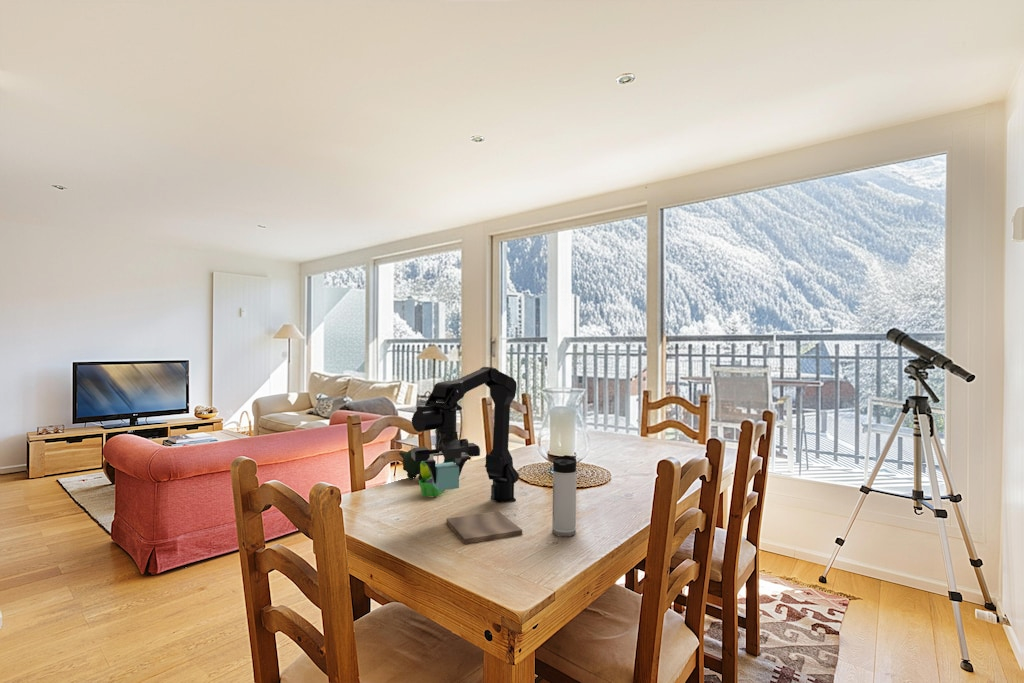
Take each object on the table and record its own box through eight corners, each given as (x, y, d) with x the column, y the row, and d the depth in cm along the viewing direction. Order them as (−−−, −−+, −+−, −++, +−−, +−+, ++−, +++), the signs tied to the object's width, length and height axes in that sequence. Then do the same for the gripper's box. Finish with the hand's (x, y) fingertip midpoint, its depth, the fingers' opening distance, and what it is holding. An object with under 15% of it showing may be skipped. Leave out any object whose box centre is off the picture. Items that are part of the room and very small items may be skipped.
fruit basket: (439, 498, 162) (440, 463, 162) (413, 497, 163) (414, 462, 163) (450, 488, 173) (450, 456, 173) (425, 487, 174) (426, 454, 174)
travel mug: (578, 529, 136) (578, 456, 136) (573, 538, 130) (573, 461, 130) (555, 526, 138) (556, 454, 138) (549, 535, 132) (550, 459, 132)
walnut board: (498, 515, 147) (498, 511, 147) (522, 534, 132) (522, 529, 132) (446, 522, 140) (446, 518, 140) (464, 543, 125) (465, 539, 125)
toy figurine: (460, 486, 182) (405, 471, 193) (464, 434, 181) (409, 423, 192) (445, 493, 173) (389, 477, 184) (450, 439, 173) (393, 426, 183)
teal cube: (452, 482, 145) (453, 462, 145) (459, 488, 140) (459, 466, 140) (432, 484, 143) (432, 463, 143) (438, 490, 137) (438, 468, 137)
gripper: (419, 434, 130) (419, 494, 130) (486, 429, 138) (486, 486, 138) (411, 427, 140) (410, 482, 140) (473, 423, 148) (473, 476, 148)
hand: (445, 482), depth 141 cm, fingers closed on teal cube, 6 cm apart
